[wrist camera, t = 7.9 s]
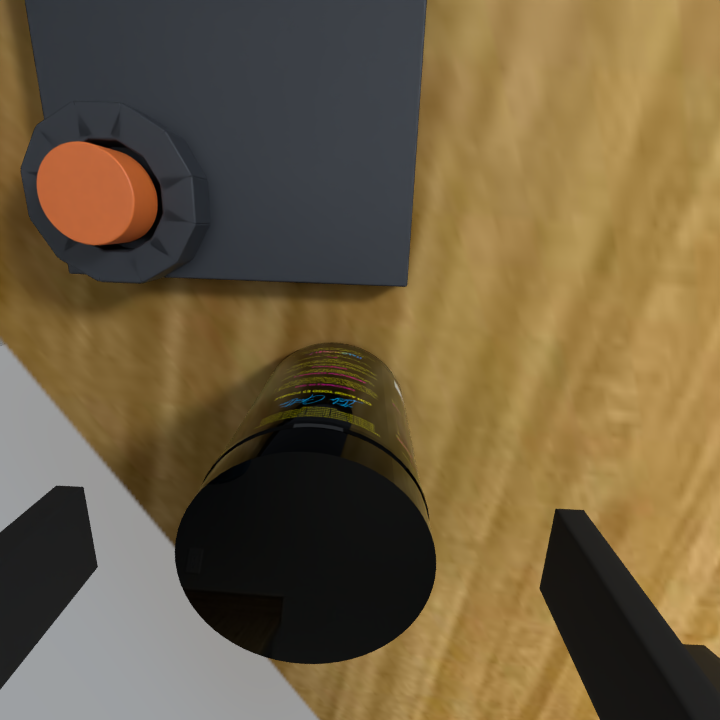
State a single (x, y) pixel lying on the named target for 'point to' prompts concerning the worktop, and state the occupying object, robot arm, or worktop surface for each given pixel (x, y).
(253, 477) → the supplement container
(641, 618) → the robot arm
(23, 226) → the worktop surface
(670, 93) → the worktop surface
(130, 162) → the button
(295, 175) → the kitchen scale
